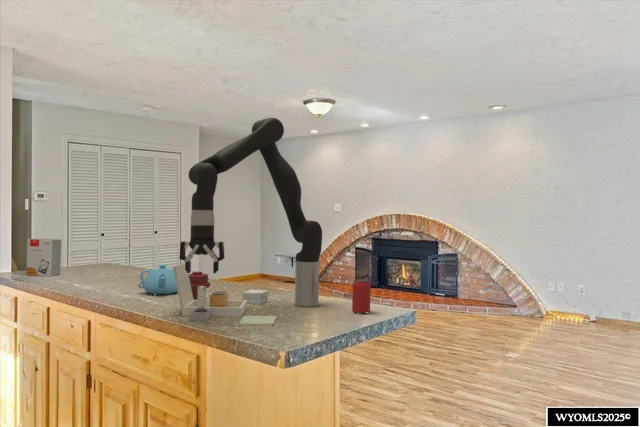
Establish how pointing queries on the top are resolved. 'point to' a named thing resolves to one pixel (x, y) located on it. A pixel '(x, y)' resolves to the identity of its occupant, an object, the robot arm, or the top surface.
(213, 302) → the module
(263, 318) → the pad
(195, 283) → the mechanical component
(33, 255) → the hard drive box
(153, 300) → the top surface
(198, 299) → the rod
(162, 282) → the teapot
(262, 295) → the small box
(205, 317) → the case
